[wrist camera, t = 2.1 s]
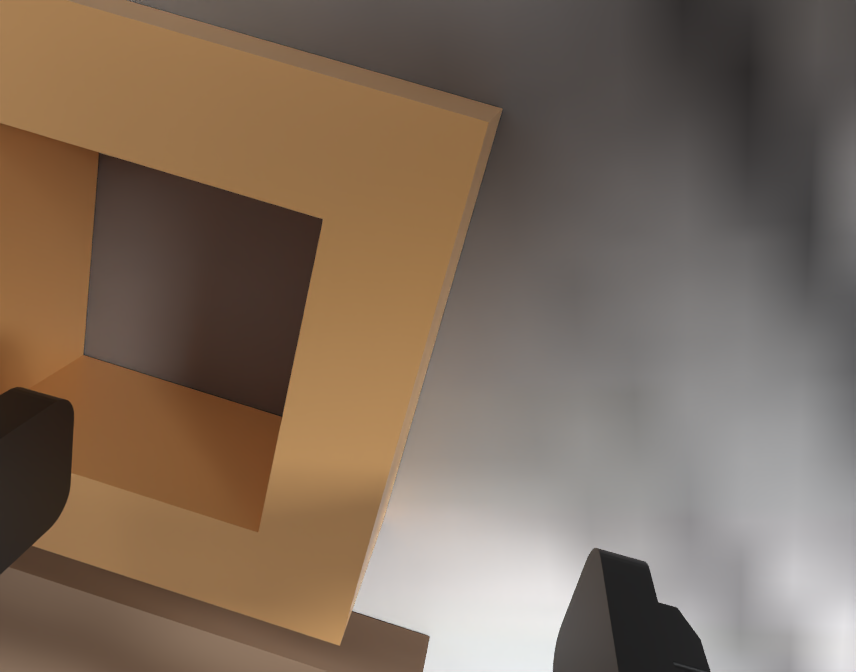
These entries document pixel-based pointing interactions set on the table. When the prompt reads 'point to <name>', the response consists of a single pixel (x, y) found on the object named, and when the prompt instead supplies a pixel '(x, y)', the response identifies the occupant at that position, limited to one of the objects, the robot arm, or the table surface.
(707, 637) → the table surface
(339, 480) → the ring
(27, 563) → the stand
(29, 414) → the robot arm
